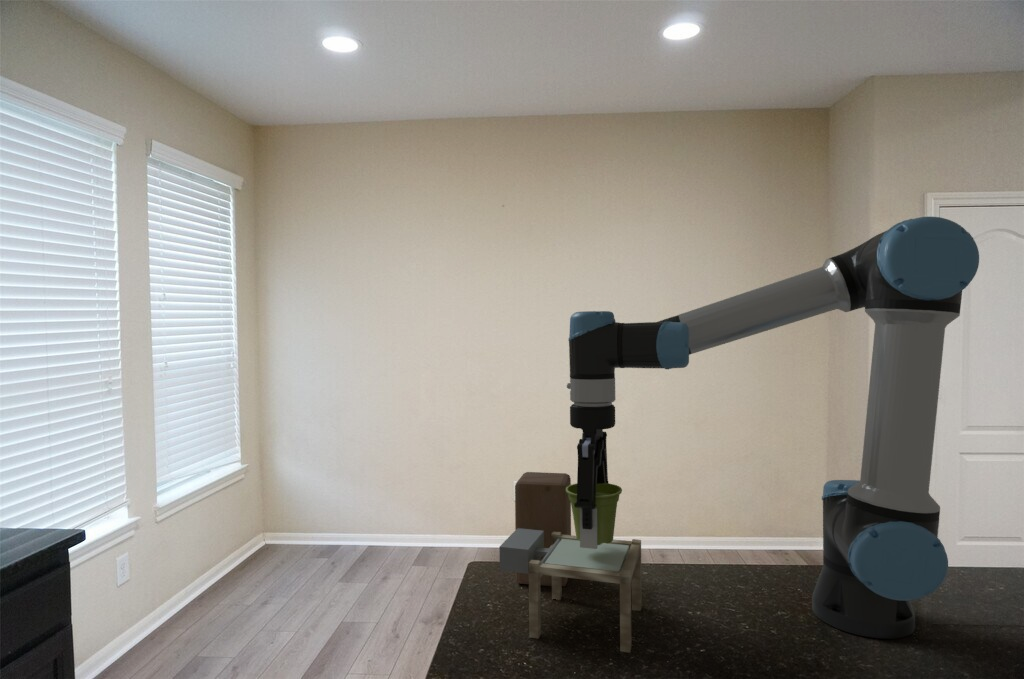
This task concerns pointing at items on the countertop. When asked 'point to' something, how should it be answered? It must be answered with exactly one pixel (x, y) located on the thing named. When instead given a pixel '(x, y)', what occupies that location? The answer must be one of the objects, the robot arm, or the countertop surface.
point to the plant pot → (599, 510)
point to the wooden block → (543, 510)
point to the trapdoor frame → (623, 578)
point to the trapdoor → (558, 553)
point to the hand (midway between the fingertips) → (593, 538)
